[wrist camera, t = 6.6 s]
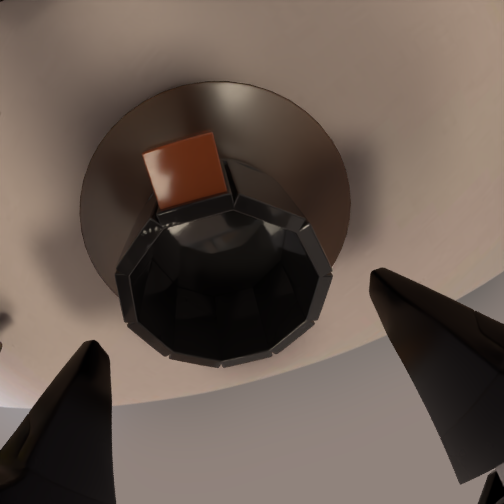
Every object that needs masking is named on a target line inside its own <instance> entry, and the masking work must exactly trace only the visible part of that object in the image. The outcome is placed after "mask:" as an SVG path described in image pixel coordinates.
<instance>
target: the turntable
mask: <svg viewBox="0 0 504 504" xmlns="http://www.w3.org/2000/svg"><path fill="white" fill-rule="evenodd" d="M208 129H212V130H213V134H214V139H215V143H216V147H217V151H218V155H219V158H228V159H234V160H239V161H243V162H246V163H248V164H251V165H253V166H255V167H257V168H259V169H261V170H262V171H264V172H265V173H267V174H268V175H269V176H271V177H273V178H274V179H275V180H276V181H277V182H279V184H280V185H281V186H282V187H283V189H284V190H285V191H286V192H287V194H288V195H289V196H290V197H291V199H292V200H293V201H294V202H295V204H296V205H297V206H298V208H299V209H300V210H301V211H302V213H303V214H304V215H305V217H306V218H307V219H308V221H309V222H310V223H311V225H312V227H313V229H314V231H315V233H316V235H317V237H318V239H319V241H320V244H321V246H322V248H323V250H324V252H325V254H326V256H327V258H328V261H329V263H330V265H331V267H332V266H333V264H334V263H335V261H336V259H337V257H338V255H339V253H340V251H341V249H342V246H343V243H344V240H345V237H346V234H347V230H348V225H349V220H350V207H351V200H350V187H349V182H348V178H347V173H346V169H345V167H344V164H343V161H342V159H341V156H340V154H339V152H338V150H337V149H336V147H335V145H334V143H333V141H332V140H331V138H330V137H329V136H328V134H327V133H326V132H325V131H324V129H323V128H322V127H321V125H320V124H319V123H318V122H317V121H316V120H315V119H313V118H312V117H311V116H310V115H309V114H308V113H307V112H306V111H305V110H303V109H302V108H300V107H299V106H297V105H296V104H295V103H293V102H292V101H290V100H288V99H286V98H284V97H282V96H280V95H278V94H276V93H274V92H272V91H270V90H266V89H263V88H260V87H257V86H253V85H250V84H243V83H237V82H229V81H208V82H200V83H193V84H187V85H183V86H180V87H176V88H173V89H170V90H167V91H164V92H162V93H160V94H158V95H156V96H154V97H152V98H150V99H148V100H146V101H144V102H142V103H141V104H139V105H138V106H137V107H135V108H134V109H132V110H131V111H130V112H128V113H127V114H126V115H125V116H124V117H123V118H121V119H120V120H119V121H118V122H117V123H116V124H115V125H114V126H113V127H112V128H111V130H110V131H109V132H108V133H107V135H106V136H105V137H104V139H103V140H102V141H101V143H100V144H99V146H98V148H97V149H96V151H95V153H94V155H93V157H92V159H91V161H90V163H89V166H88V168H87V171H86V174H85V177H84V181H83V186H82V191H81V196H80V223H81V231H82V235H83V239H84V243H85V247H86V249H87V252H88V254H89V257H90V259H91V262H92V263H93V265H94V267H95V269H96V270H97V272H98V274H99V275H100V277H101V278H102V279H103V281H104V282H105V283H106V284H107V286H108V287H109V288H110V289H111V290H112V291H113V292H114V293H115V294H116V295H117V296H118V291H117V286H116V281H115V276H114V274H115V271H116V265H117V262H118V260H119V258H120V255H121V253H122V250H123V248H124V246H125V243H126V241H127V239H128V237H129V234H130V232H131V230H132V228H133V225H134V223H135V221H136V219H137V217H138V215H139V213H140V211H141V210H142V209H143V207H144V206H145V203H146V201H147V199H148V198H149V196H150V194H151V193H152V191H153V188H152V185H151V182H150V179H149V176H148V173H147V170H146V167H145V164H144V161H143V157H142V153H143V152H144V151H145V150H146V149H147V148H148V147H151V146H154V145H157V144H160V143H163V142H166V141H169V140H173V139H176V138H179V137H183V136H186V135H190V134H193V133H197V132H201V131H205V130H208ZM118 297H119V296H118Z"/></svg>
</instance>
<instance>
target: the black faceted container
mask: <svg viewBox="0 0 504 504" xmlns="http://www.w3.org/2000/svg"><path fill="white" fill-rule="evenodd" d="M142 157H143V161H144V164H145V167H146V170H147V173H148V176H149V179H150V182H151V185H152V188H153V191H152V193H151V194H150V196H149V198H148V199H147V201H146V203H145V206H144V207H143V209H142V210H141V211H140V213H139V215H138V217H137V219H136V221H135V223H134V225H133V228H132V230H131V232H130V234H129V237H128V239H127V241H126V243H125V246H124V248H123V250H122V253H121V255H120V258H119V260H118V262H117V265H116V271H115V274H114V276H115V281H116V286H117V291H118V296H119V301H120V305H121V310H122V314H123V318H124V322H125V323H128V325H127V326H128V328H130V329H131V330H132V331H133V332H134V333H135V334H137V335H138V336H139V337H140V338H141V339H143V340H144V341H145V342H146V343H148V344H149V345H150V346H151V347H153V348H154V349H155V350H156V351H158V352H159V353H160V354H162V355H163V356H164V357H166V356H168V355H169V359H172V360H177V361H182V362H187V363H192V364H198V365H203V366H209V367H215V368H219V366H220V365H222V367H223V368H225V367H230V366H234V365H239V364H243V363H248V362H252V361H256V360H260V359H264V358H268V357H271V356H272V352H273V353H275V354H278V353H279V352H281V351H282V350H283V349H284V348H286V347H287V346H288V345H290V344H291V343H292V342H293V341H295V340H296V339H297V338H299V337H300V336H301V335H302V334H304V333H305V332H306V331H307V330H308V329H310V328H311V327H312V326H313V325H314V324H315V323H314V321H315V320H318V318H319V316H320V313H321V310H322V307H323V304H324V301H325V298H326V295H327V293H328V290H329V287H330V284H331V280H332V277H333V275H332V273H331V272H332V267H331V265H330V263H329V261H328V258H327V256H326V254H325V252H324V250H323V248H322V246H321V244H320V241H319V239H318V237H317V235H316V233H315V231H314V229H313V227H312V225H311V223H310V222H309V221H308V219H307V218H306V217H305V215H304V214H303V213H302V211H301V210H300V209H299V208H298V206H297V205H296V204H295V202H294V201H293V200H292V199H291V197H290V196H289V195H288V194H287V192H286V191H285V190H284V189H283V187H282V186H281V185H280V184H279V182H277V181H276V180H275V179H274V178H273V177H271V176H269V175H268V174H267V173H265V172H264V171H262V170H261V169H259V168H257V167H255V166H253V165H251V164H248V163H246V162H243V161H239V160H234V159H228V158H219V155H218V151H217V147H216V143H215V139H214V134H213V130H212V129H208V130H205V131H201V132H197V133H193V134H190V135H186V136H183V137H179V138H176V139H173V140H169V141H166V142H163V143H160V144H157V145H154V146H151V147H148V148H147V149H146V150H145V151H144V152H143V153H142Z"/></svg>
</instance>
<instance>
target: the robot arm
mask: <svg viewBox="0 0 504 504" xmlns="http://www.w3.org/2000/svg"><path fill="white" fill-rule="evenodd" d="M1 1H3V0H0V2H1ZM369 294H370V297H371V300H372V302H373V304H374V306H375V308H376V311H377V313H378V315H379V317H380V320H381V322H382V324H383V326H384V329H385V331H386V333H387V335H388V337H389V339H390V341H391V343H392V345H393V346H394V348H395V350H396V352H397V353H398V355H399V357H400V359H401V361H402V362H403V364H404V366H405V368H406V370H407V372H408V374H409V375H410V377H411V379H412V381H413V383H414V385H415V387H416V389H417V391H418V393H419V395H420V397H421V398H422V401H423V402H424V404H425V407H426V408H427V411H428V413H429V415H430V417H431V419H432V421H433V423H434V425H435V427H436V430H437V432H438V434H439V436H440V437H441V438H440V439H441V440H442V443H443V445H444V448H445V449H446V452H447V455H448V457H449V459H450V462H451V464H452V466H453V469H454V471H455V474H456V476H457V479H458V481H459V483H460V484H463V483H465V482H467V481H470V480H472V479H474V478H476V477H478V476H480V475H482V474H484V473H486V472H488V471H490V470H492V469H494V468H496V469H495V470H494V471H493V472H491V473H490V474H489V475H488V477H487V480H486V483H485V485H484V488H483V491H482V494H481V496H480V499H479V502H478V504H504V324H502V323H500V322H498V321H496V320H494V319H491V318H490V317H487V316H485V315H483V314H481V313H479V312H477V311H474V310H473V309H471V308H469V307H467V306H465V305H463V304H461V303H459V302H457V301H455V300H453V299H451V298H449V297H446V296H444V295H442V294H440V293H438V292H436V291H434V290H432V289H430V288H428V287H425V286H423V285H421V284H419V283H417V282H415V281H412V280H410V279H408V278H406V277H404V276H401V275H399V274H397V273H395V272H393V271H390V270H388V269H386V268H379V269H376V270H373V271H372V272H371V274H370V286H369ZM111 425H112V394H111V376H110V359H109V356H108V354H107V353H106V352H105V351H104V349H103V348H102V347H101V346H100V344H99V343H98V342H97V341H95V340H90V341H85V342H84V343H83V344H82V345H81V346H80V348H79V349H78V350H77V351H76V352H75V354H74V355H73V356H72V357H71V359H70V360H69V361H68V362H67V363H66V365H65V366H64V367H63V368H62V370H61V371H60V372H59V373H58V375H57V376H56V377H55V379H54V380H53V381H52V382H51V384H50V385H49V386H48V388H47V389H46V390H45V392H44V393H43V394H42V395H41V397H40V398H39V399H38V401H37V402H36V404H35V405H34V406H33V408H32V409H31V410H30V412H29V414H27V416H26V417H25V419H24V420H23V422H22V423H21V424H20V426H19V427H18V428H17V430H16V431H15V432H14V434H13V435H12V436H11V437H10V439H9V440H8V441H7V442H6V444H5V445H4V446H3V448H2V449H1V450H0V504H116V497H115V488H114V475H113V462H112V461H113V460H112V429H111V428H112V426H111Z"/></svg>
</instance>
